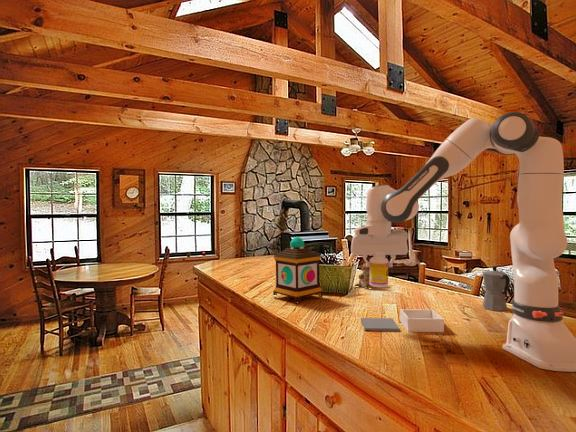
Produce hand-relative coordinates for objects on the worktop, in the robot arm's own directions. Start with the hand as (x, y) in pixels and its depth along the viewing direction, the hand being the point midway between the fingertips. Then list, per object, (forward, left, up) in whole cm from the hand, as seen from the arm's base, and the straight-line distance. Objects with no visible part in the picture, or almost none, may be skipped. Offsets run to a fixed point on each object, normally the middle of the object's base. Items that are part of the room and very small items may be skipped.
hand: (379, 267), depth 134 cm
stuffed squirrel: (+68, -6, -22) cm, 71 cm away
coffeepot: (+24, -53, -22) cm, 62 cm away
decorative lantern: (+41, +32, -22) cm, 57 cm away
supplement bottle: (0, 0, -7) cm, 7 cm away
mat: (0, 0, -22) cm, 22 cm away
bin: (0, -15, -22) cm, 26 cm away
